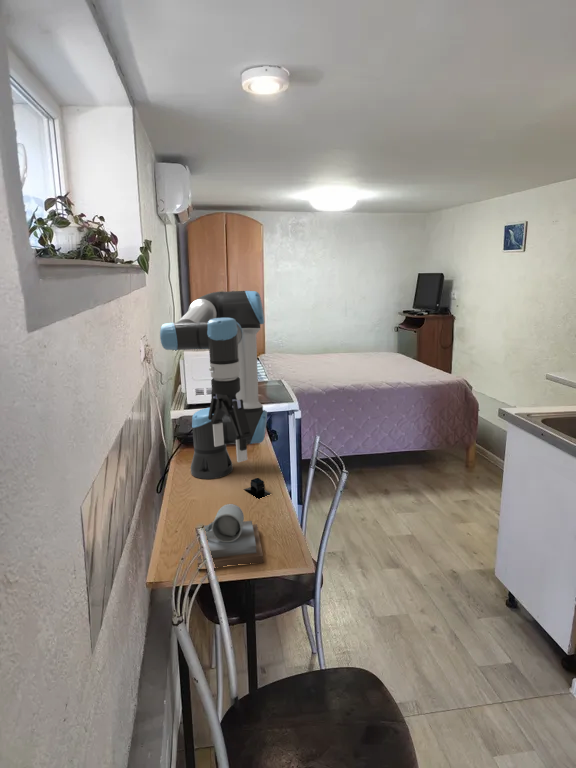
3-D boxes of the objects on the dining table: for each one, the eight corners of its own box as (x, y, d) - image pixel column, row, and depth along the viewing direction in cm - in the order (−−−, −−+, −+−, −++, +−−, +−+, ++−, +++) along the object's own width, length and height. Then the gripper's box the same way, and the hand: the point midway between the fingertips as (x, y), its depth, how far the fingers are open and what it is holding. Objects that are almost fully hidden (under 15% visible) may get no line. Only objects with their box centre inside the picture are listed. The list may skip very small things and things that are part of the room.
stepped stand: (199, 536, 135) (198, 523, 135) (257, 530, 138) (256, 517, 137) (198, 570, 120) (196, 555, 119) (263, 562, 122) (262, 548, 121)
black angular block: (277, 497, 159) (276, 483, 158) (258, 503, 155) (257, 489, 154) (256, 484, 169) (256, 472, 168) (238, 490, 165) (237, 477, 164)
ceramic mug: (245, 526, 132) (243, 499, 131) (242, 542, 124) (241, 514, 123) (205, 527, 132) (203, 501, 131) (200, 543, 124) (198, 515, 123)
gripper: (193, 371, 137) (198, 442, 143) (235, 389, 117) (239, 471, 123) (217, 367, 141) (222, 436, 147) (262, 384, 121) (265, 464, 127)
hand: (230, 452), depth 135 cm, fingers open, 13 cm apart
